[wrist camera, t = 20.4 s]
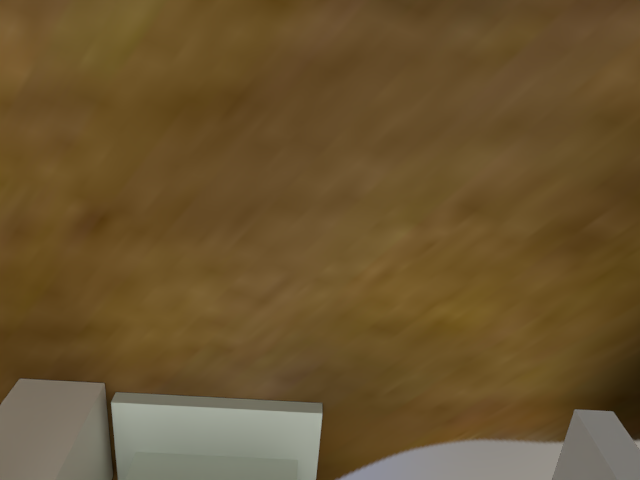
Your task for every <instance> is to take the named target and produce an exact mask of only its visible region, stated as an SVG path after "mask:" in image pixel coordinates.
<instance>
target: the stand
mask: <svg viewBox="0 0 640 480" xmlns="http://www.w3.org/2000/svg"><path fill="white" fill-rule="evenodd" d="M111 408H112V419H113V430H114V442H115V453H116V464H117V475H118V480H316V474H317V464H318V454H319V444H320V433H321V423H322V403H310V402H291V401H273V400H254V399H235V398H217V397H198V396H179V395H160V394H142V393H123V392H116V393H115V395H114V397H113V399H112V401H111Z"/></svg>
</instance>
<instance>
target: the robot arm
mask: <svg viewBox="0 0 640 480" xmlns="http://www.w3.org/2000/svg"><path fill="white" fill-rule="evenodd" d="M552 480H640V450H639V448H638V447H637V445H636V444H635V442H634V441H633V439H632V438H631V437H630V435H629V434H628V432H627V431H626V429H625V428H624V426H623V425H622V424H621V422H620V421H619V419H618V418H617V416H616V415H615V413H614V412H613V411H597V410H578V409H575V410H574V413H573V416H572V419H571V422H570V425H569V428H568V432H567V435H566V438H565V441H564V444H563V447H562V450H561V454H560V457H559V460H558V463H557V466H556V469H555V472H554V475H553V478H552Z"/></svg>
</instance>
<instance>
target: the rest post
mask: <svg viewBox="0 0 640 480" xmlns="http://www.w3.org/2000/svg"><path fill="white" fill-rule="evenodd" d="M112 478H113V468H112V457H111V447H110V436H109V425H108V414H107V404H106V393H105V383H93V382H74V381H56V380H37V379H19V380H18V381H17V383H16V384H15V386H14V387H13V388H12V390H11V391H10V392H9V394H8V395H7V397H6V398H5V399H4V401H3V402H2V403H1V405H0V480H112Z"/></svg>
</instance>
